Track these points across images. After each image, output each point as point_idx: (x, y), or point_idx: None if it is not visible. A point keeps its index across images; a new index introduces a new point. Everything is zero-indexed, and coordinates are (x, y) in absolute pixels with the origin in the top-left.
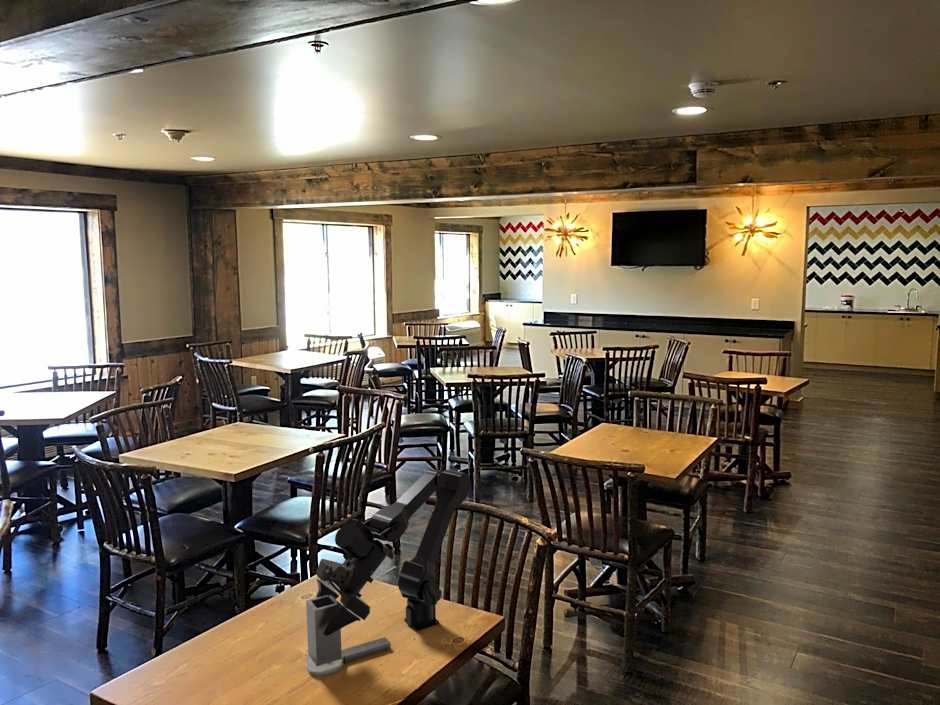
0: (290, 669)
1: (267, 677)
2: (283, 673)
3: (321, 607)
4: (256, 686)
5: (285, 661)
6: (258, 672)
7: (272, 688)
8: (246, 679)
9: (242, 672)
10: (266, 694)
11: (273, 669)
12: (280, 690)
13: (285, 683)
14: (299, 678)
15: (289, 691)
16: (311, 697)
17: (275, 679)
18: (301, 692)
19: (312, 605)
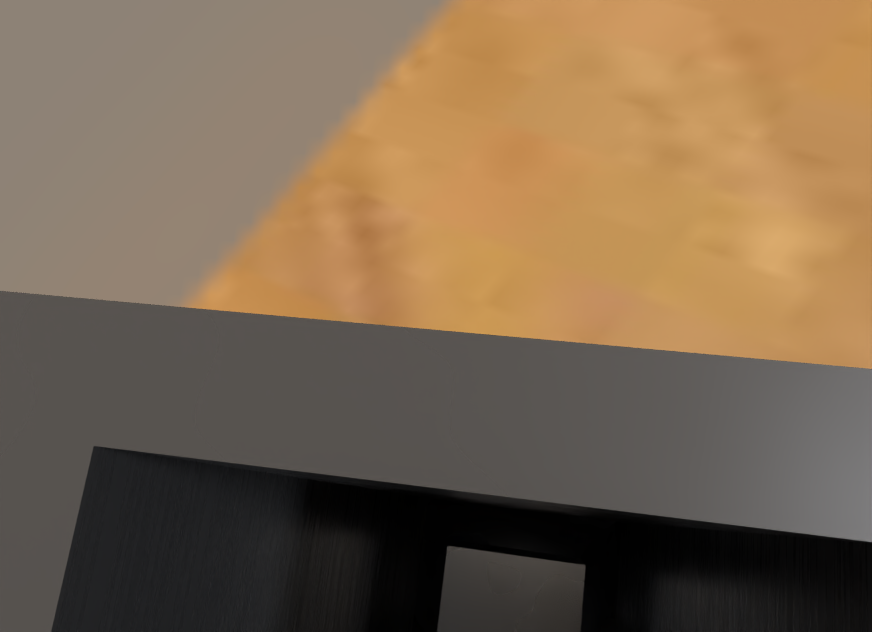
0: (659, 323)
1: (654, 134)
2: (634, 254)
3: (26, 623)
4: (583, 37)
5: (820, 337)
6: (772, 100)
7: (483, 119)
8: (724, 4)
9: (848, 4)
10: (438, 65)
11: (746, 209)
12: (420, 157)
13: (484, 217)
14: (479, 330)
15: (365, 204)
16: (190, 303)
17: (587, 174)
18: (294, 269)
19: (419, 400)
